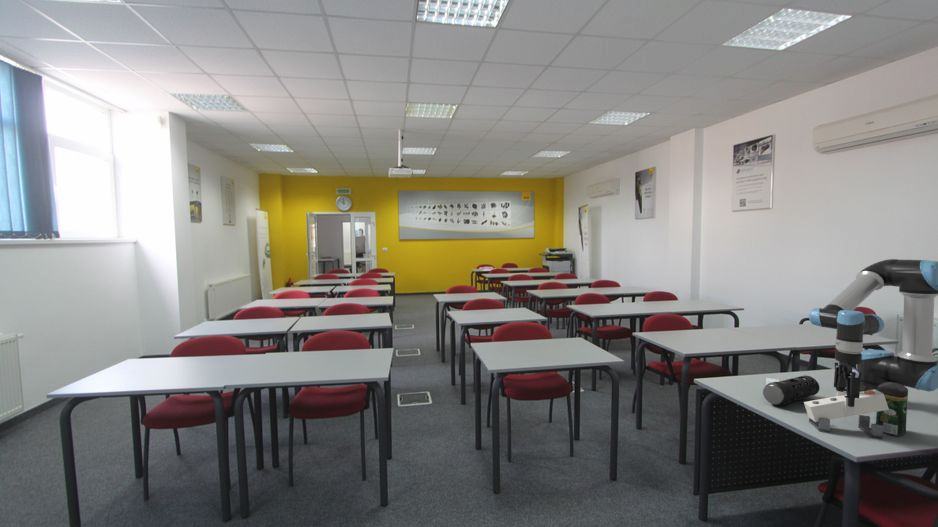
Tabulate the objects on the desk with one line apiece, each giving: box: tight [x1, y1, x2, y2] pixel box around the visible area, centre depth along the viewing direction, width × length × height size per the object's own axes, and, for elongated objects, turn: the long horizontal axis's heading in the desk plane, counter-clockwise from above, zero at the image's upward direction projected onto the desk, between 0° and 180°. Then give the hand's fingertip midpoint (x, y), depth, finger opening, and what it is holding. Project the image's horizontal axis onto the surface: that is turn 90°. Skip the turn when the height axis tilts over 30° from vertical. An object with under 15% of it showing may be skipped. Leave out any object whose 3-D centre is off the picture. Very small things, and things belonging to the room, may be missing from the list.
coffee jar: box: [875, 382, 909, 437], centre depth 159 cm, size 10×8×19 cm
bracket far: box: [808, 417, 831, 434], centre depth 164 cm, size 3×9×5 cm, turn 162°
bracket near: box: [857, 414, 884, 440], centre depth 159 cm, size 3×9×5 cm, turn 162°
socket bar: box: [803, 389, 889, 422], centre depth 161 cm, size 24×5×7 cm, turn 76°
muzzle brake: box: [762, 375, 820, 406], centre depth 189 cm, size 10×28×10 cm, turn 115°
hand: (844, 411), depth 161 cm, fingers closed on socket bar, 5 cm apart
